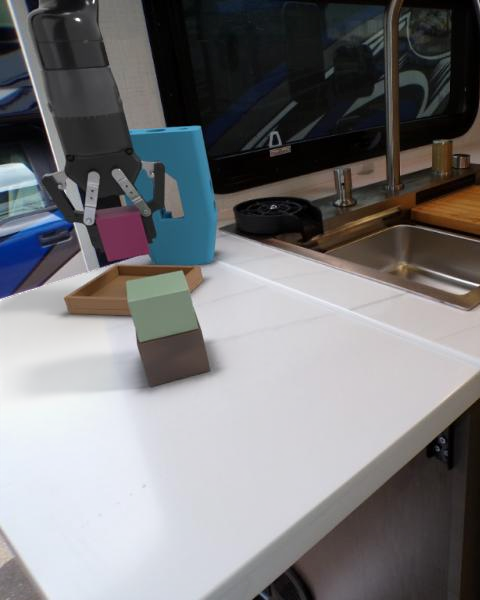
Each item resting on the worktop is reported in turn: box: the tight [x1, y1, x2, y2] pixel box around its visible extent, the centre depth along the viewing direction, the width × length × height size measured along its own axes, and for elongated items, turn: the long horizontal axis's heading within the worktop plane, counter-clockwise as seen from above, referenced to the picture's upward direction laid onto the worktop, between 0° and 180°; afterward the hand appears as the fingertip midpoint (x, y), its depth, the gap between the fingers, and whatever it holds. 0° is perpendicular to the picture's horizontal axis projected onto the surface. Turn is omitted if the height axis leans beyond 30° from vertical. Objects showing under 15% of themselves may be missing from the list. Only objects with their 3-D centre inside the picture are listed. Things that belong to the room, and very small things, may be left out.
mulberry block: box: [95, 205, 150, 262], centre depth 68 cm, size 5×5×6 cm
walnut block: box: [134, 306, 211, 388], centre depth 55 cm, size 6×6×5 cm
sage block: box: [126, 270, 198, 343], centre depth 53 cm, size 6×6×4 cm
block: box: [123, 125, 219, 266], centre depth 79 cm, size 12×5×20 cm, turn 102°
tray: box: [63, 263, 204, 316], centre depth 72 cm, size 13×11×2 cm
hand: (126, 245), depth 69 cm, fingers closed on mulberry block, 5 cm apart
